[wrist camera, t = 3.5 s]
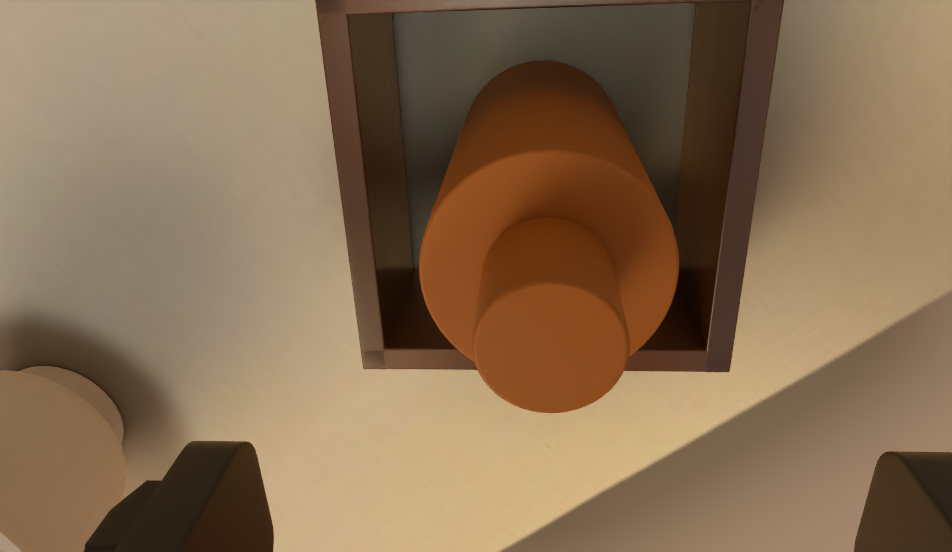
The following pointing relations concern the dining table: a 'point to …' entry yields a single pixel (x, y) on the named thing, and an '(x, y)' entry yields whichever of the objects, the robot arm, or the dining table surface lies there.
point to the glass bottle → (547, 241)
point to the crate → (699, 197)
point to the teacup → (56, 459)
